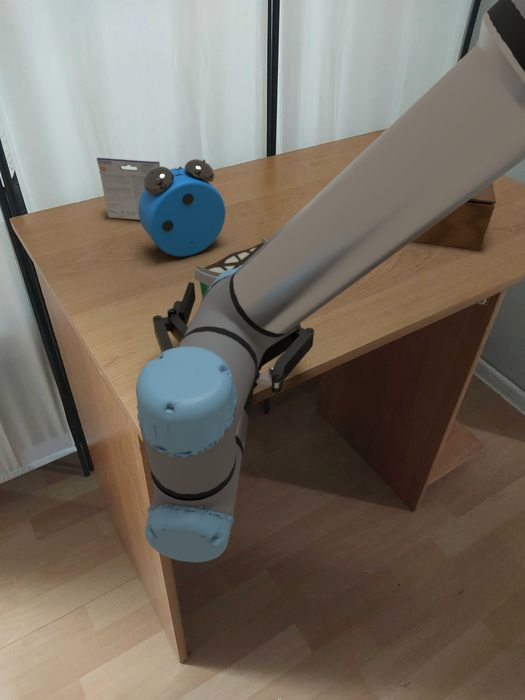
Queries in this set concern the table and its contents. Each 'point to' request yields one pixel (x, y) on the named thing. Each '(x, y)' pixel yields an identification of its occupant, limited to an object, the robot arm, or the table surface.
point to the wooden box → (461, 227)
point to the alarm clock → (182, 208)
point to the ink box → (123, 185)
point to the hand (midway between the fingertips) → (241, 294)
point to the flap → (485, 195)
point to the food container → (223, 266)
